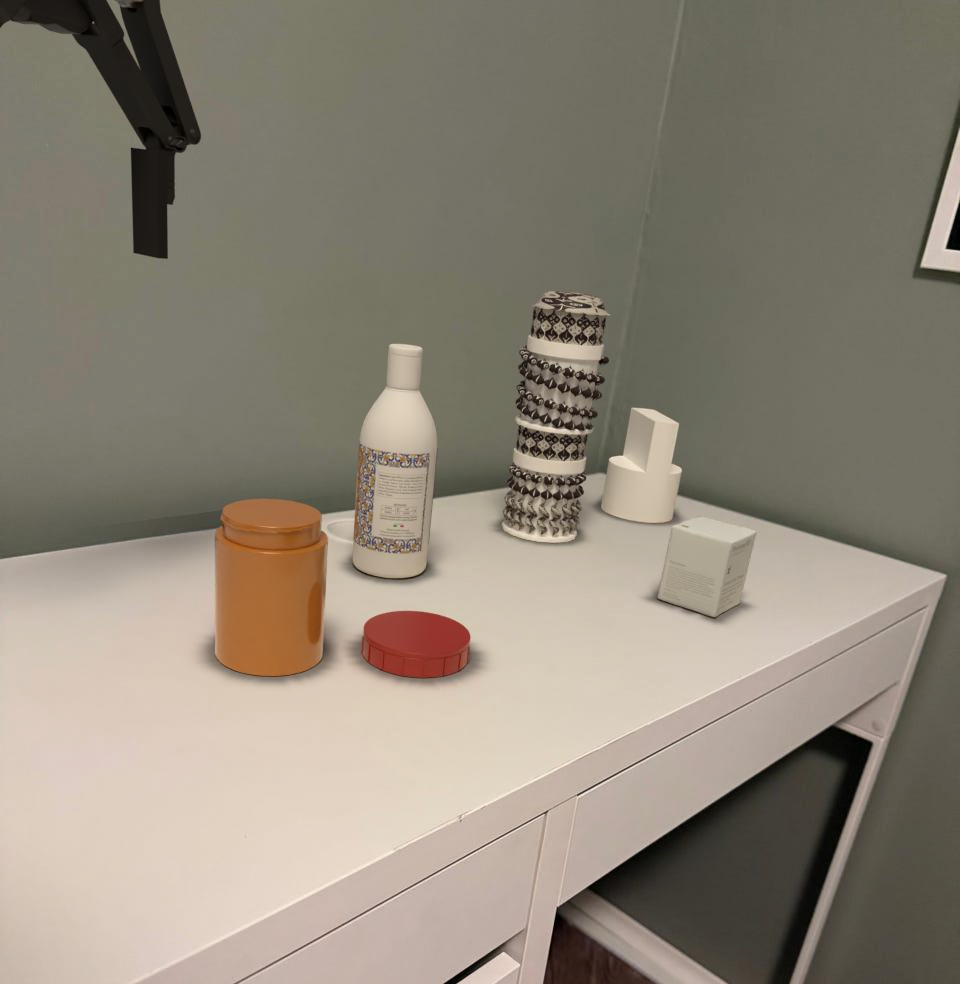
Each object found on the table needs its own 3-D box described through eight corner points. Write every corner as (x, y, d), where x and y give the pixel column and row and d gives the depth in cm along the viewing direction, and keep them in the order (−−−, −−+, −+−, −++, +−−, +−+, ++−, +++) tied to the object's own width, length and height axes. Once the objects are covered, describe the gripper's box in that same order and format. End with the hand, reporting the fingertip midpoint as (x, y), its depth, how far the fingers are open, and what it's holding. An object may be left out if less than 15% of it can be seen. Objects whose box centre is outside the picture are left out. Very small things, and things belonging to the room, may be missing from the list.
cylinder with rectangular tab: (591, 499, 118) (607, 405, 114) (657, 503, 120) (675, 411, 115) (613, 520, 110) (631, 419, 106) (683, 524, 112) (704, 426, 107)
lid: (484, 673, 68) (487, 649, 67) (380, 682, 65) (382, 657, 64) (445, 629, 74) (447, 607, 74) (349, 635, 71) (350, 613, 70)
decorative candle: (517, 513, 109) (547, 287, 99) (591, 530, 105) (629, 299, 95) (484, 530, 101) (512, 287, 91) (562, 549, 97) (601, 299, 88)
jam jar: (192, 650, 66) (190, 506, 62) (273, 623, 72) (276, 491, 67) (265, 687, 62) (268, 536, 58) (344, 655, 68) (352, 517, 64)
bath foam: (370, 550, 90) (384, 337, 82) (436, 564, 89) (457, 349, 81) (339, 570, 84) (351, 342, 76) (409, 585, 83) (429, 355, 75)
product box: (714, 619, 83) (732, 542, 80) (654, 599, 87) (669, 524, 84) (740, 604, 88) (758, 530, 85) (683, 585, 91) (698, 514, 88)
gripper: (-199, -310, 38) (-125, 247, 47) (259, -99, 57) (251, 266, 66) (-276, -284, 41) (-193, 229, 50) (180, -94, 61) (182, 252, 70)
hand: (59, 251), depth 58 cm, fingers open, 13 cm apart
